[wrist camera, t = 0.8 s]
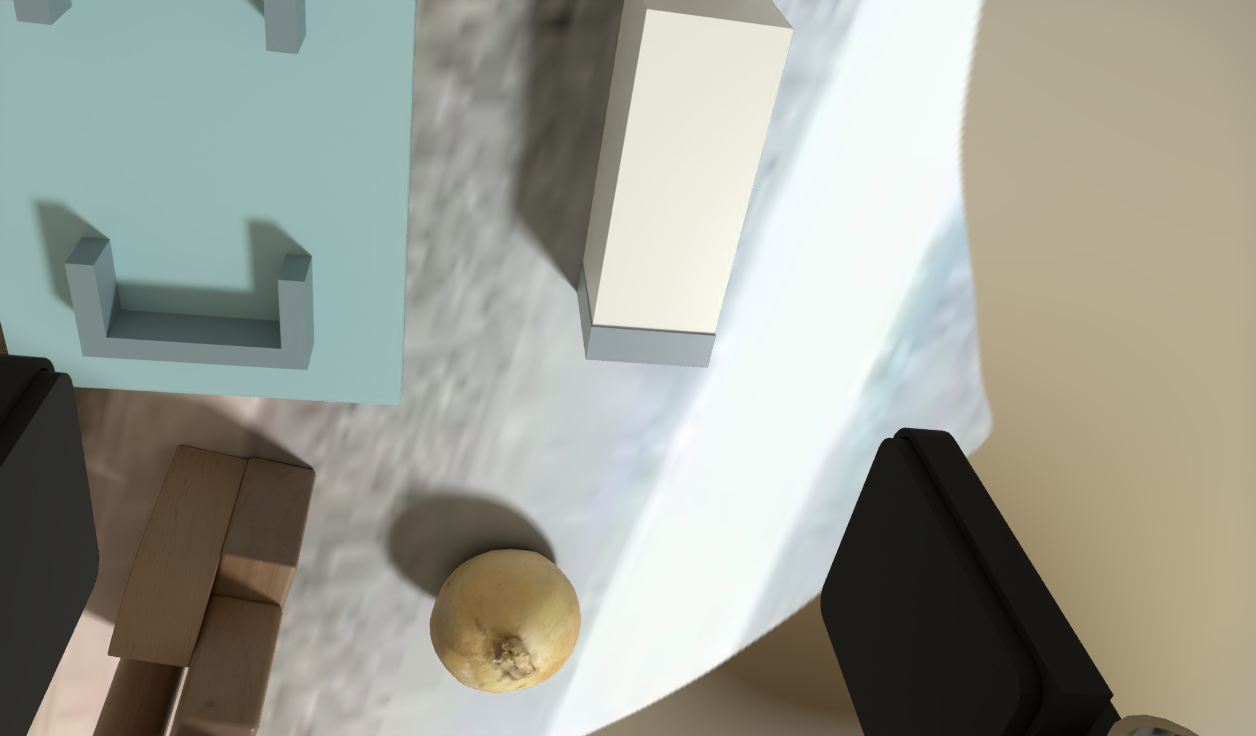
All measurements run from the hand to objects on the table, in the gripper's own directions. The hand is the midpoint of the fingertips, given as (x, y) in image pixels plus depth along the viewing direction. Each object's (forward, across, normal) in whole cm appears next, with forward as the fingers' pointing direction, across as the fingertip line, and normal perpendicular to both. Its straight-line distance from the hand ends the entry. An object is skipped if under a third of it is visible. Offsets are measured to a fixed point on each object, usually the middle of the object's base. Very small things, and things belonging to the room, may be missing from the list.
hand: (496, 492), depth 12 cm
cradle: (+29, +11, +8) cm, 32 cm away
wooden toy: (+30, +11, +32) cm, 45 cm away
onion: (+30, -4, +32) cm, 45 cm away
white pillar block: (+29, -7, +6) cm, 30 cm away
